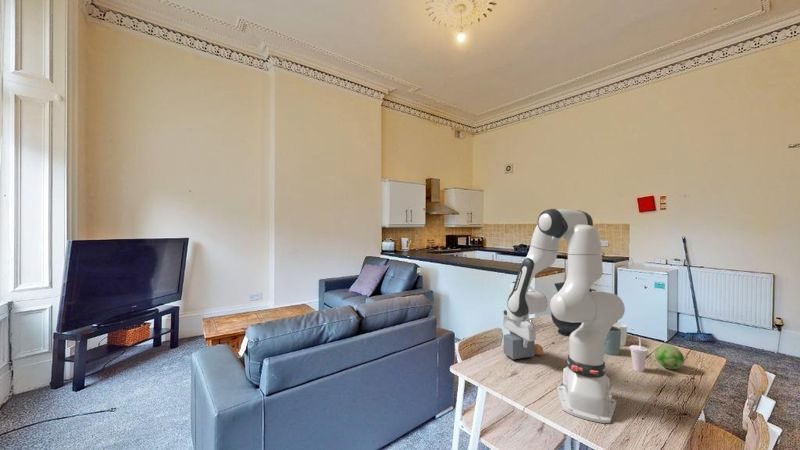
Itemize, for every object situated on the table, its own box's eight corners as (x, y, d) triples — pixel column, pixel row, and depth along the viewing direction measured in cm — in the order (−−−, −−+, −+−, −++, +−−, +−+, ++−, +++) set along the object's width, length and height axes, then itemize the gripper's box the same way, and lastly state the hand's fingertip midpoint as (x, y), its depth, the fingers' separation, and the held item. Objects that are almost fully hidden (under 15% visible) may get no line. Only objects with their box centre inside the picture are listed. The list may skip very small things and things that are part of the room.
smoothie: (651, 374, 132) (651, 341, 132) (634, 372, 134) (634, 340, 133) (642, 367, 139) (642, 335, 138) (626, 365, 140) (626, 334, 140)
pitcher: (558, 326, 192) (559, 277, 191) (596, 335, 176) (597, 282, 175) (545, 332, 181) (546, 281, 180) (584, 343, 165) (585, 287, 164)
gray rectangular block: (512, 359, 143) (512, 340, 143) (503, 352, 150) (503, 334, 150) (534, 356, 147) (534, 337, 146) (524, 349, 154) (524, 332, 154)
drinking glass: (621, 357, 148) (622, 332, 148) (596, 352, 153) (596, 328, 153) (620, 350, 157) (620, 326, 156) (596, 345, 162) (596, 322, 162)
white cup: (605, 341, 168) (605, 322, 168) (616, 339, 170) (616, 321, 170) (619, 347, 160) (619, 327, 160) (630, 345, 163) (630, 326, 163)
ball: (542, 357, 148) (542, 347, 148) (531, 355, 150) (531, 345, 150) (543, 353, 152) (543, 343, 152) (532, 351, 155) (532, 341, 155)
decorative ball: (653, 368, 138) (653, 345, 137) (656, 360, 145) (656, 339, 145) (683, 376, 131) (683, 352, 131) (684, 368, 138) (685, 345, 138)
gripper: (539, 320, 139) (539, 351, 139) (511, 308, 159) (511, 335, 159) (527, 322, 137) (527, 353, 138) (500, 309, 157) (500, 336, 157)
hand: (518, 343), depth 148 cm, fingers closed on gray rectangular block, 7 cm apart
